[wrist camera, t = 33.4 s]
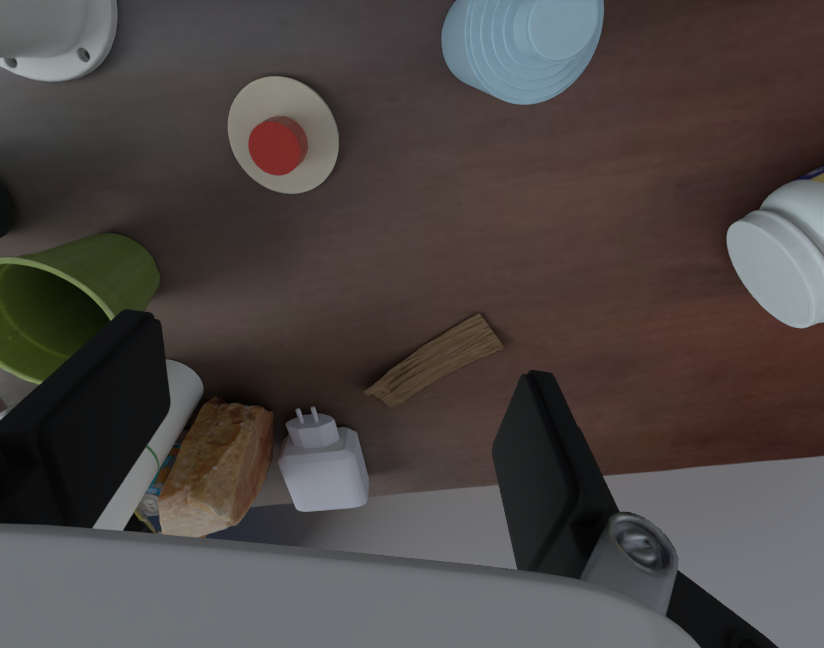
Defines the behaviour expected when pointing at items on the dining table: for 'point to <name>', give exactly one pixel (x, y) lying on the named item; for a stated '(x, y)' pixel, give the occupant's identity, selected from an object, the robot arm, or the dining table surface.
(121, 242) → the plant pot
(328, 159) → the coaster
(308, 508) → the charger
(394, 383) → the wood plank
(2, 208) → the wine bottle
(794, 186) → the supplement tub
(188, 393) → the cylindrical container
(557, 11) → the water bottle
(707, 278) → the dining table surface
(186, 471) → the stone
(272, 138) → the cap
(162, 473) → the beverage can
